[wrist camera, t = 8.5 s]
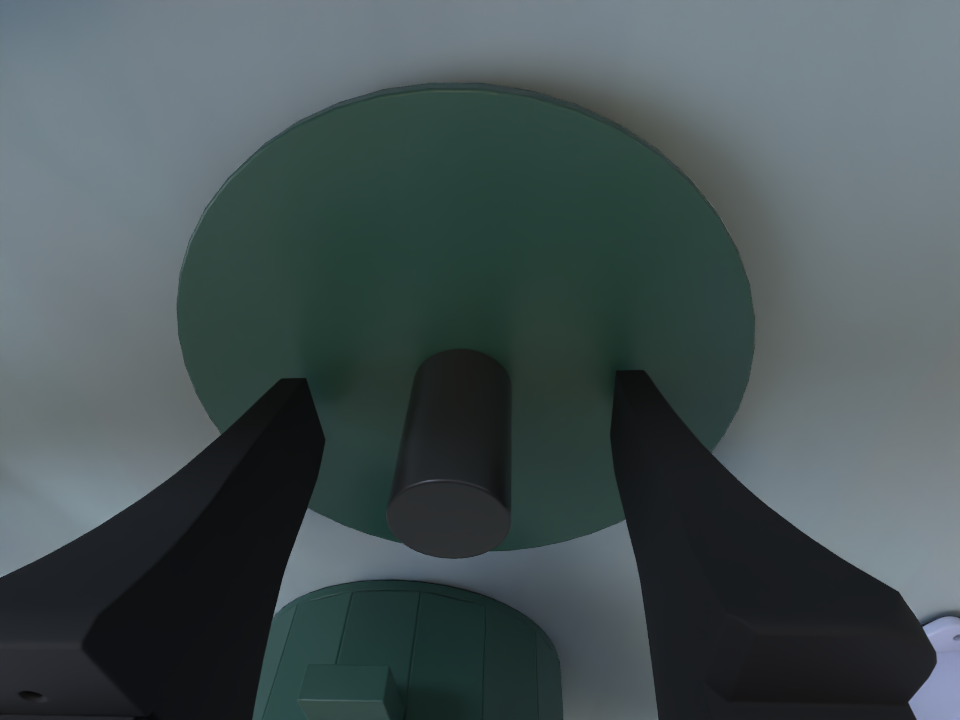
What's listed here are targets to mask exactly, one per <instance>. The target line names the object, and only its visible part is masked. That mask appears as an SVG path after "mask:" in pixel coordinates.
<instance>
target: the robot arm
mask: <svg viewBox="0 0 960 720" xmlns="http://www.w3.org/2000/svg"><path fill="white" fill-rule="evenodd" d="M325 441H326V439H325V436H324V433H323V430H322V427H321V423H320V420H319V417H318V414H317V411H316V408H315V404H314V401H313V398H312V395H311V392H310V389H309V385H308V382H307V379H306V378H281V379H280V380H279V381H278V382H276V383H275V384H274V385H273V386H272V387H271V388H270V389H269V390H268V391H267V392H266V393H265V394H264V395H263V396H262V397H261V398H260V399H258V400H257V401H256V402H255V403H254V404H253V405H252V406H251V407H250V408H249V409H248V410H247V411H246V412H245V413H244V414H243V415H242V416H241V417H240V418H239V419H238V420H237V421H235V422H234V423H233V424H232V425H231V426H230V427H229V428H228V429H227V430H226V431H225V432H224V433H223V434H222V435H220V436H219V437H218V438H217V439H216V440H215V441H214V442H212V443H211V444H210V445H209V446H208V447H207V448H205V449H204V450H203V451H202V452H201V453H200V454H198V455H197V456H196V457H195V458H194V459H193V460H192V461H190V462H189V463H188V464H187V465H186V466H184V467H183V468H182V469H181V470H179V471H178V472H177V473H176V474H174V475H173V476H172V477H170V478H169V479H168V480H167V481H165V482H164V483H162V484H161V485H160V486H158V487H157V488H156V489H154V490H153V491H151V492H150V493H149V494H147V495H146V496H144V497H143V498H142V499H140V500H139V501H137V502H136V503H134V504H132V505H131V506H129V507H128V508H126V509H125V510H123V511H122V512H120V513H118V514H117V515H115V516H114V517H112V518H111V519H109V520H107V521H106V522H104V523H103V524H101V525H100V526H98V527H96V528H95V529H93V530H91V531H90V532H88V533H86V534H84V535H83V536H81V537H79V538H77V539H76V540H74V541H72V542H70V543H68V544H67V545H65V546H63V547H61V548H59V549H57V550H55V551H54V552H52V553H50V554H48V555H46V556H44V557H42V558H40V559H38V560H36V561H34V562H32V563H30V564H28V565H26V566H24V567H22V568H20V569H18V570H16V571H14V572H11V573H9V574H7V575H5V576H3V577H1V578H0V720H252V719H253V712H254V706H255V701H256V696H257V691H258V685H259V680H260V675H261V670H262V665H263V659H264V655H265V650H266V646H267V641H268V637H269V632H270V628H271V623H272V619H273V614H274V610H275V606H276V602H277V598H278V594H279V590H280V586H281V582H282V578H283V575H284V572H285V569H286V565H287V562H288V559H289V556H290V554H291V551H292V548H293V545H294V543H295V540H296V537H297V534H298V532H299V529H300V526H301V524H302V521H303V518H304V515H305V513H306V510H307V507H308V504H309V501H310V499H311V496H312V493H313V490H314V487H315V484H316V481H317V479H318V474H319V470H320V466H321V461H322V456H323V451H324V446H325ZM610 441H611V449H612V458H613V465H614V473H615V478H616V482H617V486H618V490H619V494H620V498H621V502H622V506H623V510H624V514H625V518H626V522H627V526H628V530H629V534H630V538H631V542H632V546H633V550H634V554H635V558H636V562H637V567H638V572H639V577H640V583H641V589H642V596H643V603H644V610H645V617H646V624H647V631H648V639H649V646H650V654H651V661H652V669H653V677H654V685H655V693H656V702H657V710H658V718H659V720H960V618H957V617H953V616H947V617H942V618H939V619H936V620H935V621H933V622H931V623H929V624H927V625H925V626H923V627H922V626H921V624H920V623H919V621H918V620H917V618H916V616H915V615H914V613H913V612H912V611H911V609H910V608H909V606H908V605H907V604H906V602H905V601H904V599H903V598H902V596H901V595H900V593H899V592H898V591H896V590H895V589H893V588H891V587H889V586H888V585H886V584H884V583H883V582H881V581H879V580H877V579H876V578H874V577H872V576H870V575H869V574H867V573H865V572H864V571H862V570H860V569H858V568H857V567H855V566H853V565H852V564H850V563H848V562H846V561H845V560H843V559H842V558H840V557H839V556H837V555H836V554H834V553H833V552H831V551H830V550H828V549H826V548H825V547H823V546H822V545H820V544H819V543H817V542H816V541H814V540H813V539H811V538H810V537H809V536H807V535H806V534H804V533H803V532H802V531H800V530H799V529H797V528H796V527H795V526H793V525H792V524H791V523H790V522H788V521H787V520H786V519H784V518H783V517H782V516H780V515H779V514H778V513H776V512H775V511H774V510H772V509H771V508H770V507H768V506H767V505H766V504H765V503H764V502H762V501H761V500H760V499H759V498H758V497H756V496H755V495H754V494H753V493H752V492H751V491H750V490H748V489H747V488H746V487H745V486H744V485H743V484H742V483H741V482H740V481H738V480H737V479H736V478H735V477H734V476H733V475H732V474H731V473H730V472H729V471H728V470H727V469H726V468H725V467H724V466H723V465H722V464H721V463H720V462H719V461H718V460H717V459H716V458H715V457H714V456H713V455H712V454H711V453H710V451H709V450H708V449H707V448H706V447H705V446H704V445H703V444H702V443H701V442H700V441H699V439H698V438H697V437H696V436H695V435H694V434H693V432H692V431H691V430H690V429H689V428H688V426H687V425H686V424H685V423H684V422H683V421H682V419H681V418H680V417H679V416H678V414H677V413H676V412H675V411H674V409H673V408H672V407H671V405H670V404H669V403H668V401H667V400H666V399H665V398H664V396H663V395H662V393H661V392H660V391H659V389H658V388H657V387H656V385H655V384H654V382H653V381H652V379H651V378H650V376H649V375H648V374H647V373H646V372H645V371H644V370H616V376H615V387H614V397H613V408H612V418H611V429H610Z"/></svg>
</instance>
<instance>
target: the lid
mask: <svg viewBox="0 0 960 720" xmlns="http://www.w3.org/2000/svg"><path fill="white" fill-rule="evenodd" d="M177 319H178V335H179V340H180V344H181V349H182V353H183V358H184V362H185V366H186V369H187V371H188V374H189V376H190V379H191V381H192V384H193V387H194V389H195V392H196V394H197V396H198V397H199V399H200V401H201V403H202V405H203V406H204V408H205V410H206V412H207V414H208V415H209V417H210V419H211V420H212V422H213V423H214V424H215V426H216V427H217V428H218V430H219V431H220V432H221V434H223V433H224V432H225V431H226V430H227V429H228V428H229V427H230V426H231V425H232V424H233V423H234V422H235V421H237V420H238V419H239V418H240V417H241V416H242V415H243V414H244V413H245V412H246V411H247V410H248V409H249V408H250V407H251V406H252V405H253V404H254V403H255V402H256V401H257V400H258V399H260V398H261V397H262V396H263V395H264V394H265V393H266V392H267V391H268V390H269V389H270V388H271V387H272V386H273V385H274V384H275V383H276V382H278V381H279V380H280V379H281V378H306V379H307V382H308V385H309V389H310V392H311V395H312V398H313V401H314V404H315V408H316V411H317V414H318V417H319V420H320V423H321V427H322V430H323V433H324V436H325V439H326V441H325V446H324V451H323V456H322V461H321V466H320V470H319V474H318V479H317V481H316V484H315V487H314V490H313V493H312V496H311V499H310V501H309V504H308V508H310V509H311V510H313V511H315V512H317V513H319V514H321V515H323V516H325V517H327V518H329V519H332V520H334V521H336V522H338V523H340V524H342V525H345V526H348V527H350V528H353V529H356V530H359V531H361V532H364V533H367V534H369V535H373V536H377V537H380V538H384V539H387V540H391V541H395V542H399V543H403V544H405V545H406V546H408V547H409V548H411V549H413V550H415V551H418V552H420V553H423V554H426V555H430V556H434V557H439V558H451V559H457V558H468V557H473V556H478V555H481V554H484V553H486V552H489V551H510V550H518V549H527V548H535V547H541V546H545V545H550V544H555V543H560V542H565V541H568V540H571V539H575V538H578V537H582V536H585V535H588V534H592V533H594V532H597V531H599V530H602V529H604V528H607V527H609V526H612V525H614V524H617V523H619V522H621V521H623V520H625V519H626V518H625V514H624V510H623V506H622V502H621V498H620V494H619V490H618V486H617V482H616V478H615V473H614V465H613V458H612V449H611V441H610V429H611V418H612V408H613V397H614V387H615V376H616V370H644V371H645V372H646V373H647V374H648V375H649V376H650V378H651V379H652V381H653V382H654V384H655V385H656V387H657V388H658V389H659V391H660V392H661V393H662V395H663V396H664V398H665V399H666V400H667V401H668V403H669V404H670V405H671V407H672V408H673V409H674V411H675V412H676V413H677V414H678V416H679V417H680V418H681V419H682V421H683V422H684V423H685V424H686V425H687V426H688V428H689V429H690V430H691V431H692V432H693V434H694V435H695V436H696V437H697V438H698V439H699V441H700V442H701V443H702V444H703V445H704V446H705V447H706V448H707V449H708V450H709V451H710V453H711V452H712V450H713V449H714V447H715V446H716V445H717V443H718V442H719V441H720V439H721V438H722V437H723V435H724V434H725V432H726V430H727V429H728V427H729V425H730V423H731V421H732V419H733V417H734V416H735V414H736V412H737V410H738V408H739V405H740V403H741V400H742V397H743V394H744V392H745V389H746V386H747V383H748V380H749V375H750V370H751V364H752V359H753V354H754V339H755V315H754V309H753V303H752V297H751V290H750V284H749V281H748V278H747V275H746V273H745V270H744V267H743V264H742V261H741V258H740V255H739V253H738V250H737V248H736V246H735V245H734V243H733V241H732V239H731V237H730V236H729V234H728V232H727V230H726V228H725V227H724V225H723V223H722V221H721V219H720V218H719V216H718V214H717V213H716V211H715V210H714V209H713V207H712V206H711V205H710V204H709V202H708V201H707V200H706V199H705V197H704V196H703V195H702V194H701V192H700V191H699V190H698V189H697V187H696V186H695V185H694V184H693V182H692V181H691V180H690V179H689V178H688V177H687V176H686V175H685V174H684V173H683V172H682V171H681V170H680V169H679V168H677V167H676V166H675V165H674V164H673V163H672V162H671V161H670V160H669V159H668V158H666V157H665V156H664V155H663V154H662V153H661V152H660V151H659V150H658V149H656V148H655V147H653V146H652V145H650V144H649V143H647V142H646V141H644V140H642V139H641V138H639V137H638V136H636V135H635V134H633V133H632V132H630V131H629V130H627V129H626V128H624V127H623V126H621V125H620V124H618V123H615V122H613V121H611V120H609V119H607V118H605V117H603V116H600V115H598V114H596V113H594V112H592V111H590V110H587V109H585V108H583V107H581V106H579V105H576V104H573V103H570V102H567V101H563V100H560V99H557V98H553V97H550V96H547V95H543V94H540V93H537V92H533V91H529V90H523V89H516V88H510V87H503V86H496V85H490V84H483V83H427V84H420V85H412V86H405V87H397V88H390V89H383V90H380V91H376V92H373V93H369V94H366V95H362V96H359V97H355V98H352V99H349V100H345V101H342V102H339V103H336V104H334V105H332V106H330V107H328V108H326V109H323V110H321V111H319V112H317V113H315V114H312V115H310V116H308V117H306V118H304V119H302V120H299V121H298V122H296V123H295V124H293V125H292V126H290V127H289V128H287V129H286V130H284V131H283V132H281V133H280V134H278V135H277V136H275V137H274V138H272V139H271V140H269V141H268V142H266V143H265V144H264V145H262V146H261V147H260V148H259V149H258V150H257V151H256V152H255V153H254V154H253V155H252V156H251V157H250V158H249V159H248V160H247V161H245V162H244V163H243V164H242V165H241V166H240V167H239V168H238V169H237V170H236V171H235V172H234V173H233V174H232V175H231V176H230V177H229V178H228V179H227V180H226V181H225V183H224V184H223V185H222V187H221V188H220V189H219V191H218V192H217V193H216V195H215V196H214V197H213V199H212V200H211V201H210V203H209V204H208V205H207V207H206V208H205V210H204V212H203V214H202V216H201V218H200V220H199V222H198V224H197V226H196V228H195V230H194V232H193V234H192V236H191V238H190V240H189V243H188V247H187V250H186V254H185V257H184V261H183V264H182V267H181V271H180V278H179V287H178V296H177Z"/></svg>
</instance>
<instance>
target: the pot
mask: <svg viewBox="0 0 960 720" xmlns="http://www.w3.org/2000/svg"><path fill="white" fill-rule="evenodd" d="M252 720H564V719H563V703H562V687H561V671H560V661H559V659H558V655H557V652H556V650H555V647H554V645H553V644H552V642H551V640H550V639H549V637H548V636H547V635H546V634H545V633H544V632H543V631H542V630H541V629H540V627H539V626H537V625H536V624H535V623H534V622H532V621H531V620H530V619H528V618H527V617H526V616H524V615H522V614H521V613H519V612H517V611H516V610H514V609H512V608H510V607H508V606H506V605H504V604H502V603H500V602H497V601H495V600H493V599H490V598H487V597H484V596H481V595H479V594H476V593H472V592H468V591H465V590H461V589H457V588H453V587H448V586H442V585H437V584H431V583H422V582H413V581H391V580H386V581H364V582H356V583H347V584H342V585H337V586H332V587H327V588H324V589H321V590H318V591H315V592H311V593H309V594H307V595H305V596H302V597H300V598H298V599H296V600H294V601H293V602H291V603H289V604H288V605H286V606H285V607H284V608H282V609H281V610H280V611H279V612H278V613H277V614H276V615H275V616H274V617H273V619H272V623H271V628H270V632H269V637H268V641H267V646H266V650H265V655H264V659H263V665H262V670H261V675H260V680H259V685H258V691H257V696H256V701H255V706H254V712H253V719H252Z"/></svg>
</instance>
